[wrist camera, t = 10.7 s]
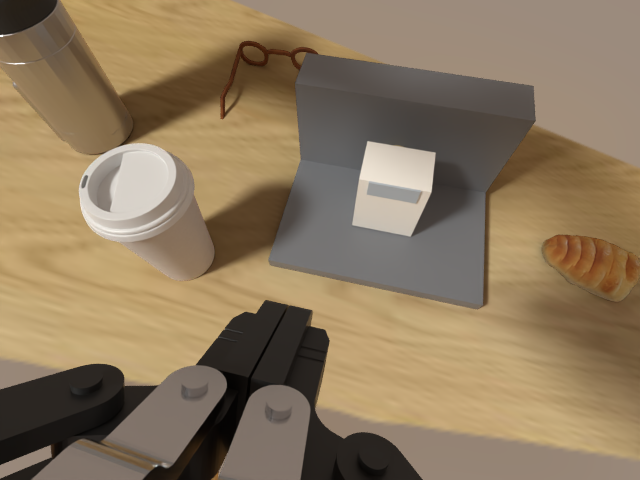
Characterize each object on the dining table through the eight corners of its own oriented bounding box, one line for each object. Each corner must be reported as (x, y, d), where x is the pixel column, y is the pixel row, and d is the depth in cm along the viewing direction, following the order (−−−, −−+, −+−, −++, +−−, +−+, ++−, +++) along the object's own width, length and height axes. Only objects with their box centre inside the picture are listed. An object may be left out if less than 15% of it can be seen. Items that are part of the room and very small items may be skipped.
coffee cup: (171, 212, 46) (111, 125, 33) (240, 233, 45) (206, 151, 31) (131, 279, 42) (42, 210, 29) (205, 304, 41) (148, 244, 27)
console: (270, 265, 43) (249, 201, 31) (310, 139, 52) (306, 52, 40) (477, 309, 40) (543, 259, 28) (481, 169, 49) (533, 85, 37)
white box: (351, 226, 43) (358, 180, 35) (359, 191, 46) (367, 141, 38) (410, 238, 42) (431, 194, 34) (415, 201, 45) (435, 152, 37)
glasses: (321, 74, 59) (321, 45, 54) (305, 133, 53) (304, 106, 49) (243, 64, 60) (237, 35, 56) (219, 121, 54) (210, 94, 50)
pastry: (532, 273, 42) (550, 259, 39) (543, 228, 45) (561, 212, 42) (617, 308, 40) (644, 297, 37) (624, 259, 43) (649, 245, 40)
